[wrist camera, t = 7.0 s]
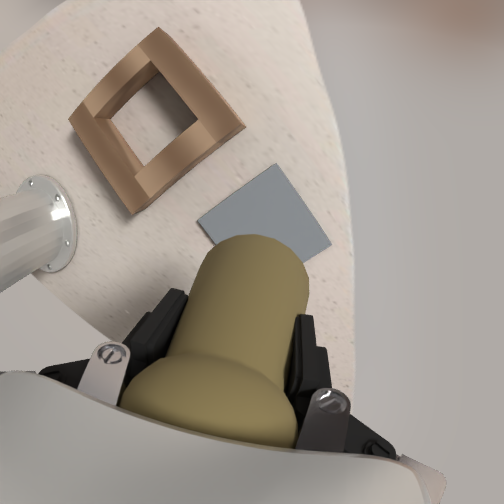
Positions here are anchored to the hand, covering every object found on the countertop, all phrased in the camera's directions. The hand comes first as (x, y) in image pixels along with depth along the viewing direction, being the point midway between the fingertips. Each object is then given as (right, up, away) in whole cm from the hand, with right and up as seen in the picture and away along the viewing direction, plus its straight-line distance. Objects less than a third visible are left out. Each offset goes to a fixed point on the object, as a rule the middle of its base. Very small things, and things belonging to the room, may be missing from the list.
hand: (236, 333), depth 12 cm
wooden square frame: (-9, +16, +13) cm, 22 cm away
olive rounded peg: (+1, +2, +4) cm, 4 cm away
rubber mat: (+2, +5, +15) cm, 16 cm away
